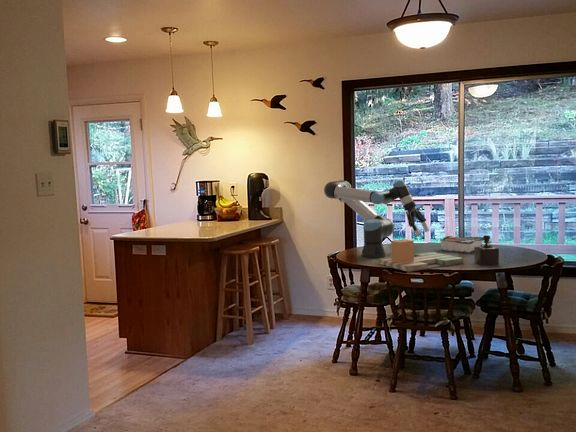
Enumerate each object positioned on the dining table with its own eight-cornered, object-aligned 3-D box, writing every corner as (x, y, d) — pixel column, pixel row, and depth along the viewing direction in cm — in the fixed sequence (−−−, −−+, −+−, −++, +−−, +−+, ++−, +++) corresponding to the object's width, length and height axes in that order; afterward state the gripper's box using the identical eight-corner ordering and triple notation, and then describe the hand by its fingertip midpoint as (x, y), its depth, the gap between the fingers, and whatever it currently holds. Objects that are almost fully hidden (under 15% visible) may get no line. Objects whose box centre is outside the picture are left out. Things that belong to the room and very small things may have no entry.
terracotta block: (391, 261, 324) (390, 240, 323) (405, 259, 329) (404, 239, 328) (399, 263, 317) (399, 242, 316) (413, 261, 322) (413, 240, 320)
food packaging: (436, 239, 370) (451, 235, 387) (436, 250, 371) (451, 245, 388) (472, 242, 354) (486, 237, 371) (472, 253, 355) (486, 248, 371)
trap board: (378, 264, 333) (378, 259, 333) (431, 256, 350) (431, 251, 350) (408, 271, 308) (408, 266, 307) (463, 263, 325) (463, 258, 325)
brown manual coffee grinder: (472, 262, 326) (472, 232, 324) (490, 261, 327) (490, 230, 325) (484, 267, 311) (484, 235, 309) (503, 266, 312) (503, 234, 310)
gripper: (404, 203, 343) (419, 234, 340) (421, 198, 363) (435, 227, 360) (394, 208, 348) (409, 238, 345) (412, 203, 367) (426, 232, 364)
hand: (423, 233), depth 352 cm, fingers open, 13 cm apart
